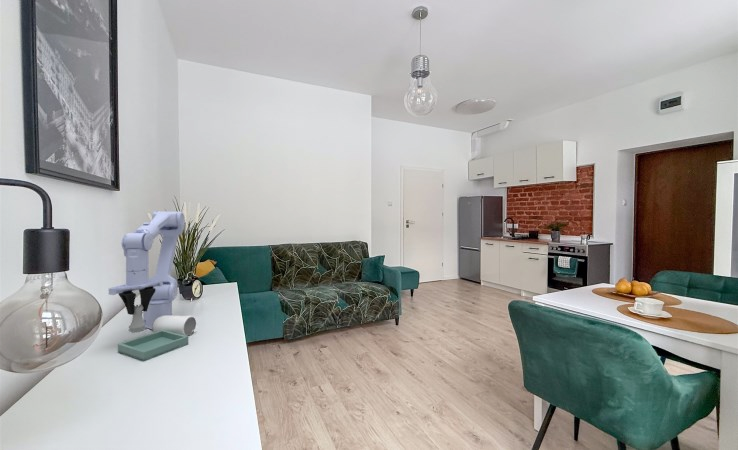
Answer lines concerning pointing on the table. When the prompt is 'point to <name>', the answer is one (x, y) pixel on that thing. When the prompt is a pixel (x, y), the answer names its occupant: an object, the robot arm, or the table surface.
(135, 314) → the rook chess piece
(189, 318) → the can
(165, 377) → the table surface
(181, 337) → the tray
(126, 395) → the table surface
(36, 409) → the table surface
